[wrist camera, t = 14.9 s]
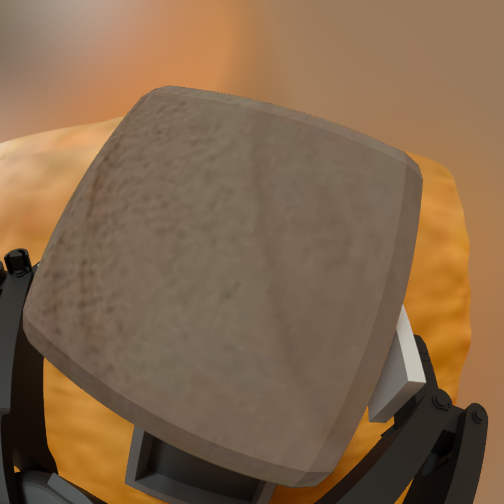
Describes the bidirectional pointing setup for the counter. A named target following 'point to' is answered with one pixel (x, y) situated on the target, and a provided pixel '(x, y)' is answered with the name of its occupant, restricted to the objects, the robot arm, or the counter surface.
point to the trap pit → (188, 476)
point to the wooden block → (231, 279)
